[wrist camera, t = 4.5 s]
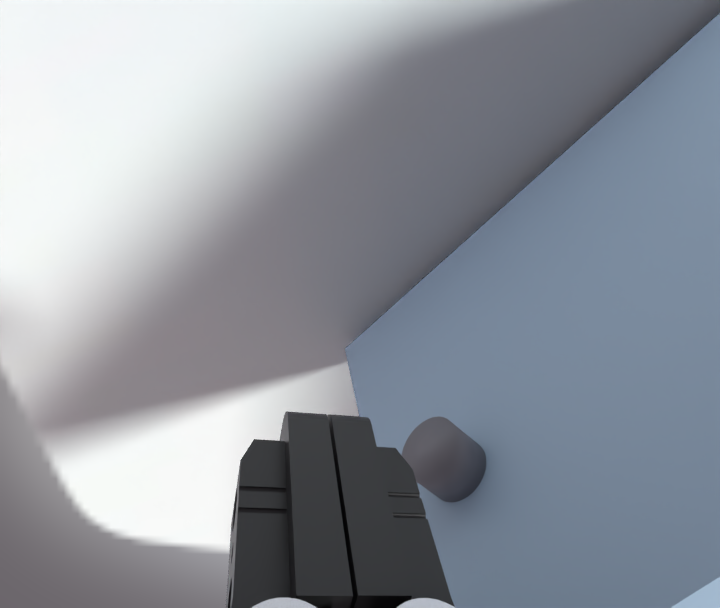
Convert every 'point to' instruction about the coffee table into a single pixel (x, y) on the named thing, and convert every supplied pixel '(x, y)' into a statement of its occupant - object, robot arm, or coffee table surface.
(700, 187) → the cabinet door
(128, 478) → the coffee table surface
